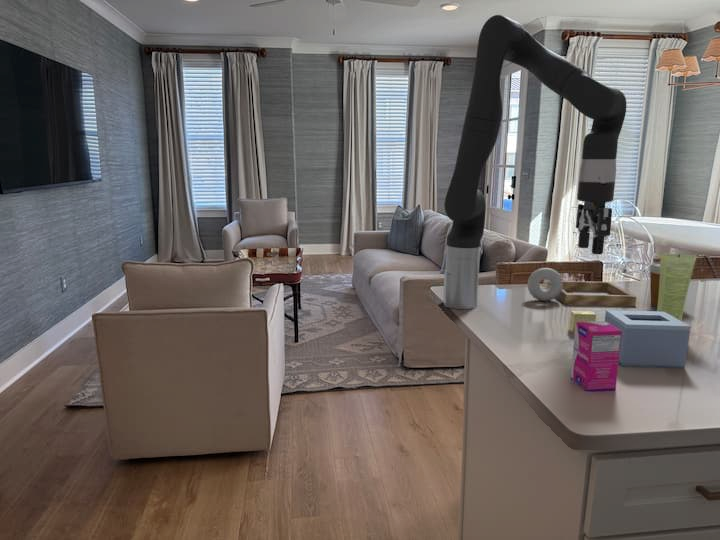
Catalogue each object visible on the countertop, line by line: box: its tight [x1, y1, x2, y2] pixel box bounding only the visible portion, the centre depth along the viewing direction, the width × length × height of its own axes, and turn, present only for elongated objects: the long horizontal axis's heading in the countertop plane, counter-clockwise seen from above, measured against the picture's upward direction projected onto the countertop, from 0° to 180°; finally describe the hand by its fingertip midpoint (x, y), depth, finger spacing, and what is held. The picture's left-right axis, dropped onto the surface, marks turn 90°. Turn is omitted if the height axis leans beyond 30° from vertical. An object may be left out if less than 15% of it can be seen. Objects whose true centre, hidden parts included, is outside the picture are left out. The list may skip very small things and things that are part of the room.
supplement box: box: [570, 320, 622, 392], centre depth 92 cm, size 6×6×12 cm
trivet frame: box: [546, 280, 637, 307], centre depth 155 cm, size 19×18×3 cm
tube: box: [656, 252, 698, 321], centre depth 120 cm, size 6×5×20 cm
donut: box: [527, 267, 564, 302], centre depth 150 cm, size 10×4×10 cm, turn 84°
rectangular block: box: [568, 310, 597, 334], centre depth 122 cm, size 5×2×5 cm, turn 86°
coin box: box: [604, 309, 692, 369], centre depth 105 cm, size 12×10×9 cm
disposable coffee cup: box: [648, 262, 660, 308], centre depth 145 cm, size 10×10×12 cm
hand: (589, 250), depth 119 cm, fingers open, 8 cm apart
